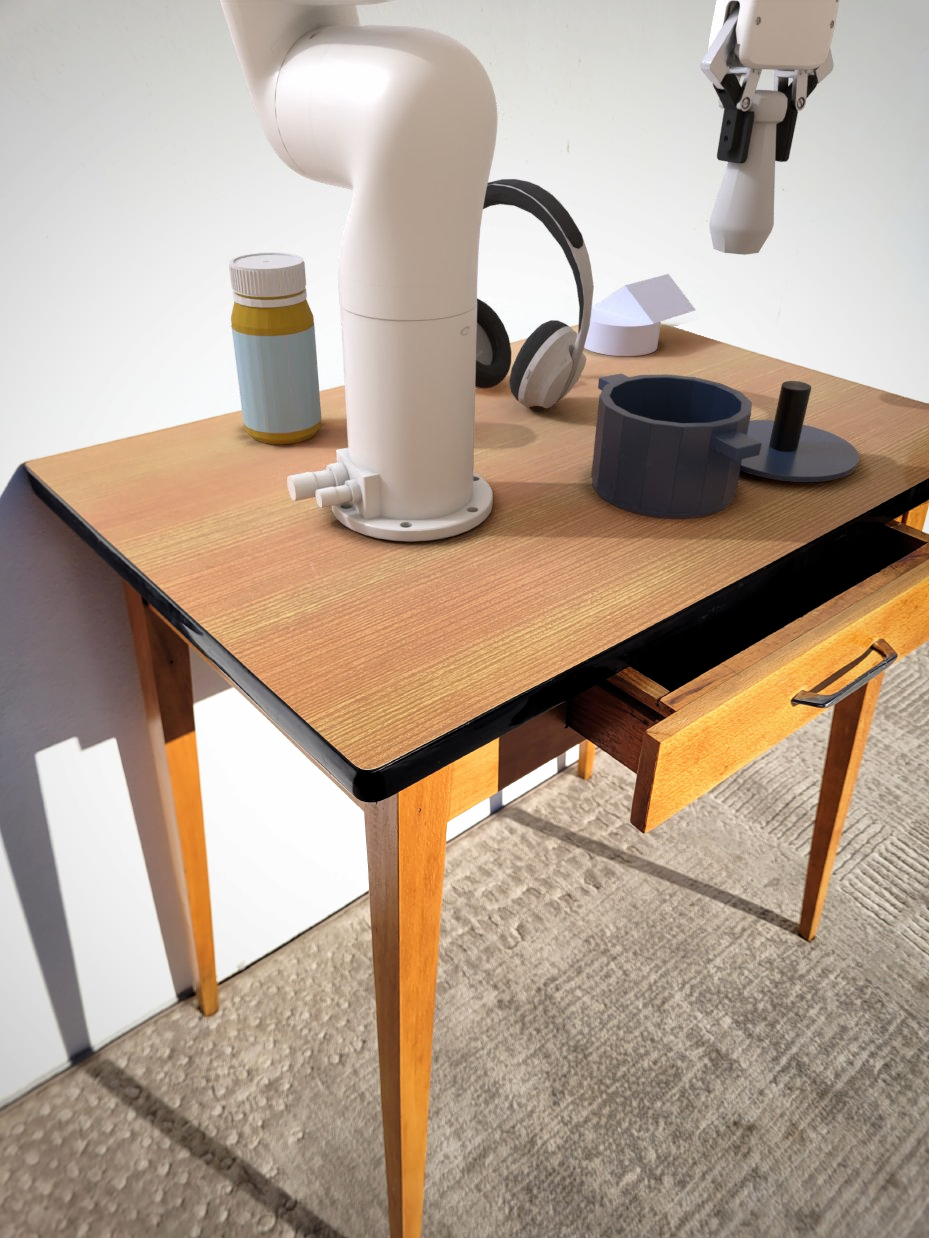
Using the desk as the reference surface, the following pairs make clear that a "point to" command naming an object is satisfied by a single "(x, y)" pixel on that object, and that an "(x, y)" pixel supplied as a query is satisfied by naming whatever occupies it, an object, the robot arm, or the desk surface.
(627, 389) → the pot
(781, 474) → the lid
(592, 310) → the wedge on round base
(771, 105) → the salt shaker
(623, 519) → the desk surface
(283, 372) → the bottle
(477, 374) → the headphones
